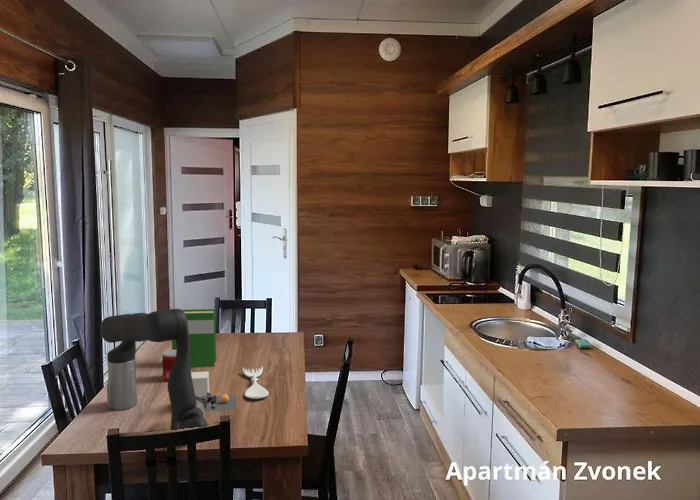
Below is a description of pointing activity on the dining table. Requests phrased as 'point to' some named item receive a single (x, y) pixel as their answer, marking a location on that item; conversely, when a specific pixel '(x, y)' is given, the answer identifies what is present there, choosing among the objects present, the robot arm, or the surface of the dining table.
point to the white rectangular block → (200, 383)
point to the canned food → (168, 362)
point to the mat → (224, 403)
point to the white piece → (255, 385)
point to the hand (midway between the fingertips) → (195, 395)
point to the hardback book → (201, 337)
